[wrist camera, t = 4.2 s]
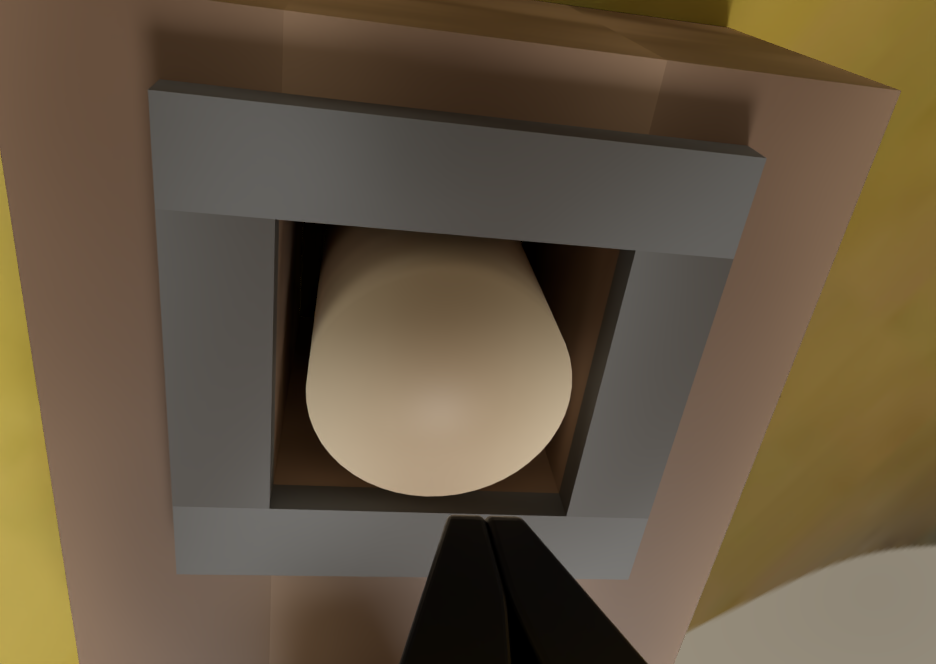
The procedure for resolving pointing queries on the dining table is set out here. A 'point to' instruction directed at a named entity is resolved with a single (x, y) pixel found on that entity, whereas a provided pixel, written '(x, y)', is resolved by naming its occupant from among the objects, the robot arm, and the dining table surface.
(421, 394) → the peg
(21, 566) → the dining table surface
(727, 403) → the walnut block
